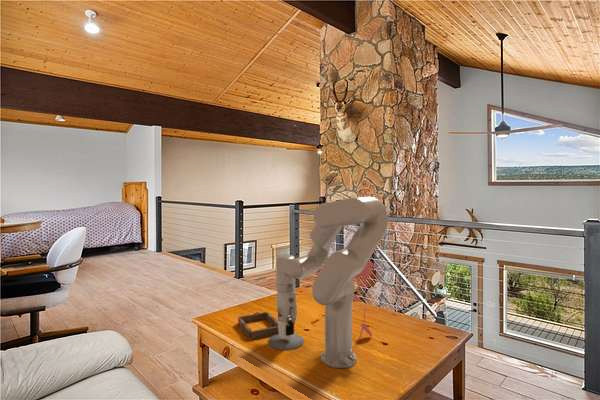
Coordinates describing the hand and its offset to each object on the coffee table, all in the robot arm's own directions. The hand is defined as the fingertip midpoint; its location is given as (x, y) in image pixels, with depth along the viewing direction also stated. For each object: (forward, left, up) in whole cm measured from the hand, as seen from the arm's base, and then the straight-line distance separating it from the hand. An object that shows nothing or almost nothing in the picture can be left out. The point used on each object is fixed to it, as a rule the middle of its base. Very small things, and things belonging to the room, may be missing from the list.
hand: (285, 330), depth 134 cm
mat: (0, 0, -4) cm, 4 cm away
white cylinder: (0, 0, -2) cm, 2 cm away
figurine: (-6, -32, -5) cm, 33 cm away
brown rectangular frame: (+17, +5, -4) cm, 18 cm away
